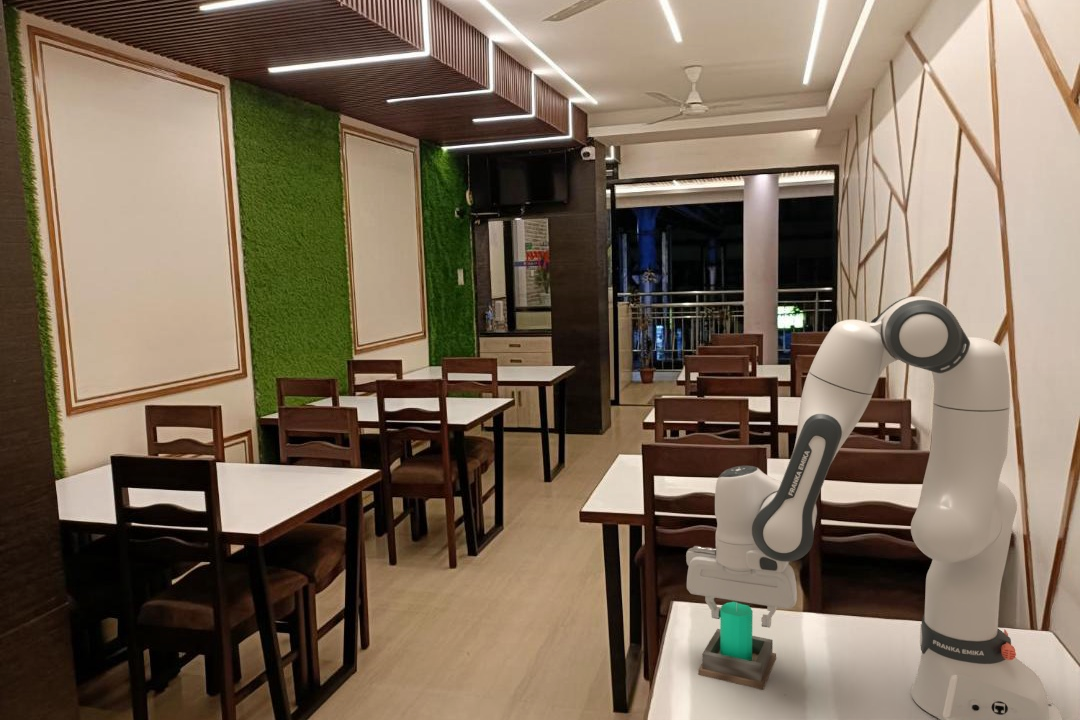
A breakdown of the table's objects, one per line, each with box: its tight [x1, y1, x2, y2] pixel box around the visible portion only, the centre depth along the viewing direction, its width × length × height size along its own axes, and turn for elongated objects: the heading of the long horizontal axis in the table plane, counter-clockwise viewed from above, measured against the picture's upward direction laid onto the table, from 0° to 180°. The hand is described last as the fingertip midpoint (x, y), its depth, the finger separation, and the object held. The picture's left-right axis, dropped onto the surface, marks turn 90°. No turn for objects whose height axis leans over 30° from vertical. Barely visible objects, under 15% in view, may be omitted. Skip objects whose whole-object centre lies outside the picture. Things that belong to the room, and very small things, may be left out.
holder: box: [697, 628, 777, 690], centre depth 147 cm, size 12×12×4 cm
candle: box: [719, 601, 754, 661], centre depth 147 cm, size 6×6×12 cm
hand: (741, 621), depth 146 cm, fingers open, 8 cm apart
